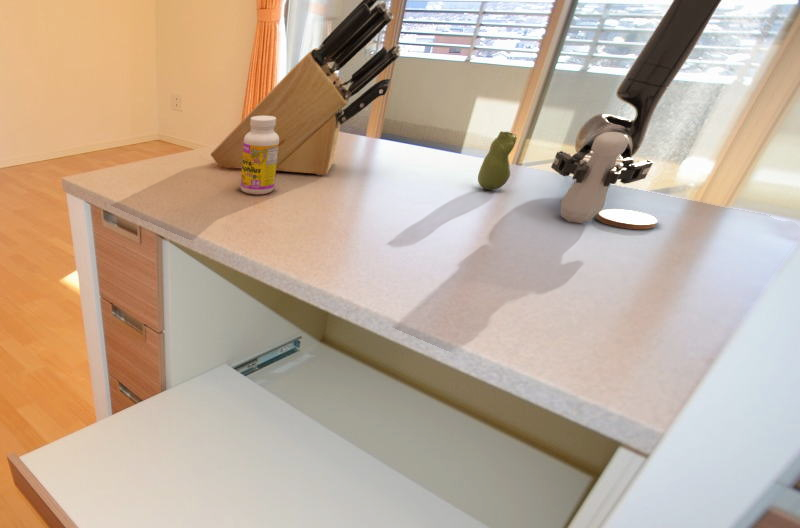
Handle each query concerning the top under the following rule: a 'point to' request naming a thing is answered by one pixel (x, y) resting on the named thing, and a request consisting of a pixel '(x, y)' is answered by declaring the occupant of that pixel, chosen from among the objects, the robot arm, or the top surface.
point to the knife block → (318, 96)
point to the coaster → (626, 219)
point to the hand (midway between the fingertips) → (595, 177)
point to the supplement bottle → (260, 156)
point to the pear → (497, 162)
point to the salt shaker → (593, 179)
